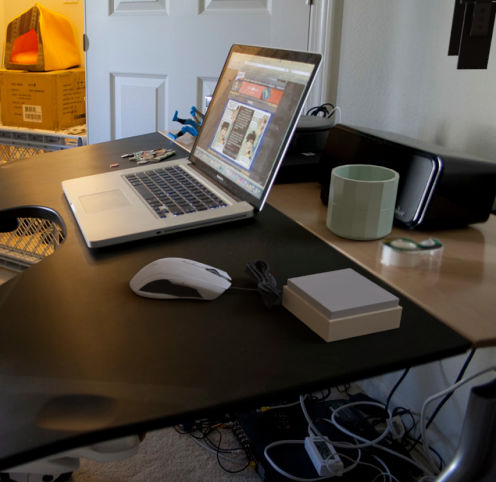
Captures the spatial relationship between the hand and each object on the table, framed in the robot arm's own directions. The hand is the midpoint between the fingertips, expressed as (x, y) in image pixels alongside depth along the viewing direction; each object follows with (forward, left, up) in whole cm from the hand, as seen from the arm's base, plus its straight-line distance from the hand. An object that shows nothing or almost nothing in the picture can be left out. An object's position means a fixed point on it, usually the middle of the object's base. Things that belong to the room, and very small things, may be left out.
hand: (465, 62), depth 72 cm
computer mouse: (+26, +15, -26) cm, 40 cm away
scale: (+10, +16, -26) cm, 32 cm away
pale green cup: (+9, -12, -26) cm, 30 cm away
